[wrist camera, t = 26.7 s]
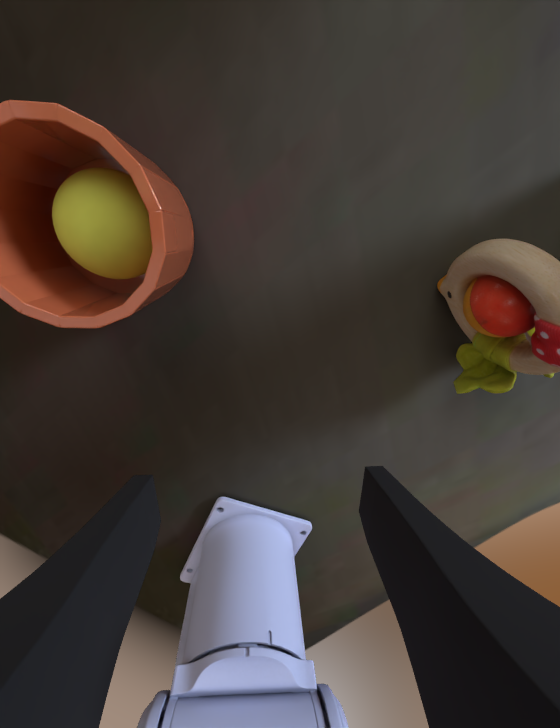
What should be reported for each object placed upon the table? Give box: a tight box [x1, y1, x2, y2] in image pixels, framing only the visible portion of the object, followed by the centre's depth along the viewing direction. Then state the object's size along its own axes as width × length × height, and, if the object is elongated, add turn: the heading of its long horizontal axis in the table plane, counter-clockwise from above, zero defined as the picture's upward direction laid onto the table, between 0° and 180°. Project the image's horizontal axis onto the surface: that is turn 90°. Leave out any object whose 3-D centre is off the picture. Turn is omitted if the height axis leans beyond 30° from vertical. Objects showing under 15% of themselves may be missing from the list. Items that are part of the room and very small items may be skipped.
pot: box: [0, 100, 194, 328], centre depth 14 cm, size 7×7×6 cm
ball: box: [52, 168, 152, 279], centre depth 14 cm, size 5×5×5 cm
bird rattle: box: [437, 239, 560, 394], centre depth 15 cm, size 6×11×9 cm
